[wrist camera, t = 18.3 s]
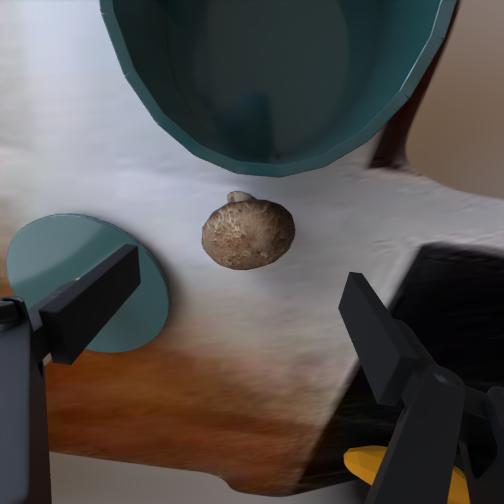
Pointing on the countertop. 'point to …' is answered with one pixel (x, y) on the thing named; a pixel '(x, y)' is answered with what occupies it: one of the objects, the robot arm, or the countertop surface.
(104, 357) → the countertop surface
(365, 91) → the pot
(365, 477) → the corn
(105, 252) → the lid
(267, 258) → the mushroom
